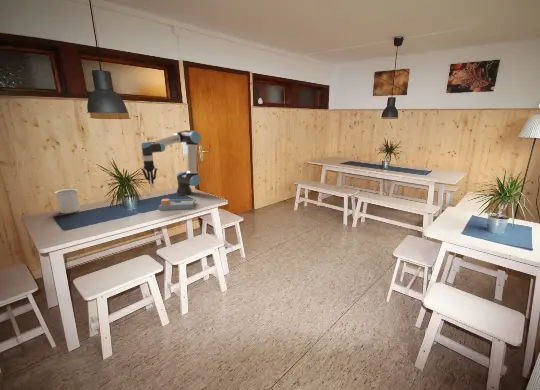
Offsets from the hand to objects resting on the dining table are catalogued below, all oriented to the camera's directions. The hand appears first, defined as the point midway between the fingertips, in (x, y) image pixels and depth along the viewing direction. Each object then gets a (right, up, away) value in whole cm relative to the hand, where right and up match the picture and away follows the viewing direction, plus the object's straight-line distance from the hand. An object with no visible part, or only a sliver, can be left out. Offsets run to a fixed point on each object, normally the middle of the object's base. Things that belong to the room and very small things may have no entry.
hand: (151, 187), depth 226 cm
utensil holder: (-67, -20, -4) cm, 70 cm away
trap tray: (+20, -17, +8) cm, 27 cm away
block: (+10, -15, +6) cm, 19 cm away
